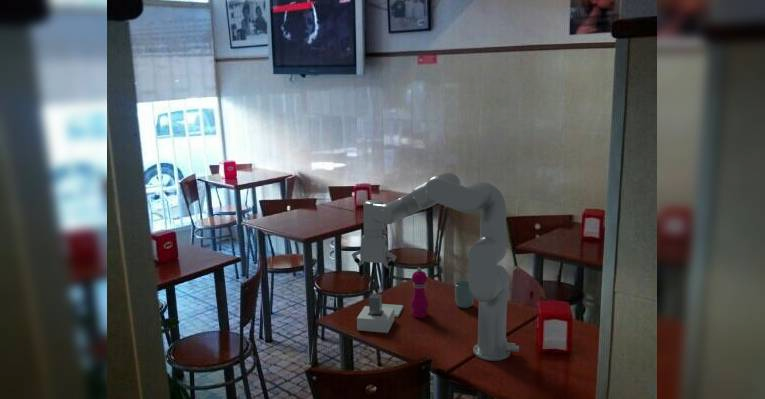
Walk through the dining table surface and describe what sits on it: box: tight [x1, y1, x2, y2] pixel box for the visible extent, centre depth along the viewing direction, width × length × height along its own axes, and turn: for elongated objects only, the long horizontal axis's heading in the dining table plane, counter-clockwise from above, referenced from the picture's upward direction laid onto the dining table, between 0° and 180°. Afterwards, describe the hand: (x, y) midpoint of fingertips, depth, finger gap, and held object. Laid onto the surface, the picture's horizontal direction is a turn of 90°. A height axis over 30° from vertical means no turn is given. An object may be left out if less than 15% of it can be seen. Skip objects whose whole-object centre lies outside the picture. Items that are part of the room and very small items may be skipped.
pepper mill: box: [410, 267, 429, 319], centre depth 233 cm, size 7×7×20 cm
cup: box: [454, 280, 475, 309], centre depth 241 cm, size 8×8×10 cm
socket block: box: [356, 305, 395, 334], centre depth 225 cm, size 12×12×5 cm
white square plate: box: [382, 303, 404, 318], centre depth 239 cm, size 10×10×1 cm
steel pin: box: [368, 293, 383, 316], centre depth 225 cm, size 4×4×12 cm
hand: (374, 275), depth 222 cm, fingers open, 9 cm apart
